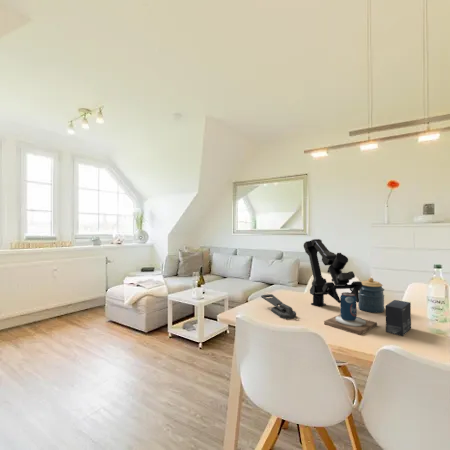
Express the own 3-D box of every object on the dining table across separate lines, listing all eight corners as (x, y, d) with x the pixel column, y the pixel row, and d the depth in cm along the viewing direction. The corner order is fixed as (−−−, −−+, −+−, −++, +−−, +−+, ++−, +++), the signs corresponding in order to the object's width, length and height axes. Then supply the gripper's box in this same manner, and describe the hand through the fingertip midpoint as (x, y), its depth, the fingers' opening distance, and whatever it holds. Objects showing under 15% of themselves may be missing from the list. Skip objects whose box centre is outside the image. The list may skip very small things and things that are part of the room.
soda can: (355, 322, 126) (354, 296, 126) (338, 319, 130) (338, 294, 130) (357, 318, 132) (357, 293, 132) (342, 315, 136) (342, 291, 136)
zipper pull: (272, 293, 165) (298, 304, 142) (272, 304, 165) (298, 317, 142) (259, 295, 162) (284, 306, 139) (259, 306, 162) (284, 320, 139)
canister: (363, 304, 164) (362, 274, 164) (387, 309, 154) (387, 277, 154) (354, 309, 154) (354, 277, 154) (380, 314, 145) (379, 281, 145)
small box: (394, 324, 131) (394, 299, 131) (411, 328, 126) (411, 302, 126) (385, 332, 122) (384, 305, 122) (403, 336, 117) (402, 308, 117)
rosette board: (342, 316, 143) (342, 311, 143) (377, 325, 130) (376, 319, 130) (324, 324, 132) (324, 318, 132) (360, 335, 119) (360, 328, 119)
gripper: (325, 266, 136) (336, 294, 125) (360, 265, 138) (375, 292, 127) (317, 278, 144) (328, 306, 133) (351, 277, 146) (364, 304, 135)
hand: (349, 302), depth 132 cm, fingers open, 9 cm apart
